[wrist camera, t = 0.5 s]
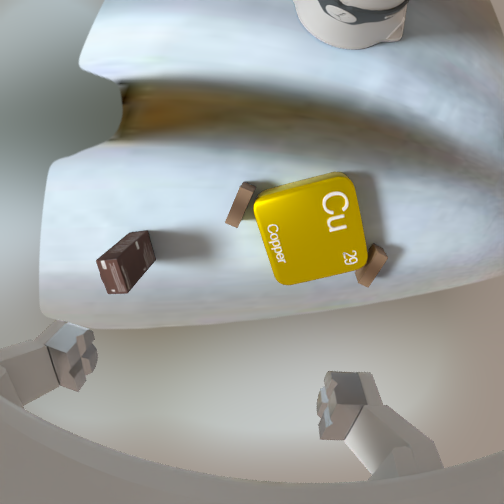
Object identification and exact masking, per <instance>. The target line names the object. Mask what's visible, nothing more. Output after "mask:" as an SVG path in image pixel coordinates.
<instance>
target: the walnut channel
mask: <svg viewBox="0 0 504 504" xmlns="http://www.w3.org/2000/svg"><path fill="white" fill-rule="evenodd" d="M255 188H256V187H255V186H253V185H250V184H248V183H246V182H243V183H242V185H241V186H240V188H239V190H238V193H237V195H236V198H235V200H234V202H233V205H232V207H231V209H230V212H229V214H228V217H227V219H226V221H225V223H227V224H229V225H231V226H234V227H236V228H238V226H239V223H240V221H241V219H242V217H243V215H244V213H245V210H246V208H247V206H248V203H249V201H250V199H251V197H252V195H253V192H254V190H255ZM387 259H388V257H387V255H386V253H385V252H384V250H383V248H381V247H379V246H377V245H375V244H372V246H371V248H370V249H369V251H368V259H367V262H366V264H365V265H364V266H363V267H362V268H360V269H358V270H356V272H355V274H356V277H357V280H358V283H360V284H362V285H364V286H366V287H369V286H370V284H371V283H372V281H373V280H374V278H375V277H376V275H377V274H378V272H379V271H380V269H381V268H382V266H383V265H384V263H385V262H386V260H387Z"/></svg>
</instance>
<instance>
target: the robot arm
mask: <svg viewBox="0 0 504 504" xmlns="http://www.w3.org/2000/svg"><path fill="white" fill-rule="evenodd" d="M408 1H409V0H293V2H294V4H295V7H296V11H297V14H298V17H299V19H300V21H301V22H302V24H303V25H304V27H305V28H306V29H307V30H308V31H309V32H310V33H311V34H312V35H314V36H315V37H316V38H318V39H319V40H321V41H323V42H325V43H327V44H329V45H332V46H335V47H338V48H343V49H362V48H367V47H370V46H372V45H374V44H377V43H379V42H396V41H399V40H400V39H401V37H402V35H403V29H404V23H405V16H406V9H407V3H408ZM94 340H95V339H94V334H93V331H92V330H90V329H88V328H85V327H82V326H79V325H76V324H73V323H70V322H66V321H63V320H60V319H58V320H55V321H54V322H53V323H52V324H51V325H50V326H49V327H47V328H46V330H44V331H43V332H42V333H41V334H40V335H39V336H38V337H37V338H36V339H35V340H34V341H33V340H28V341H25V342H22V343H18V344H15V345H11V346H8V347H5V348H1V349H0V504H504V450H503V451H500V452H497V453H494V454H492V455H489V456H486V457H483V458H480V459H476V460H473V461H470V462H466V463H463V464H459V465H455V466H452V467H448V468H444V467H443V464H442V462H441V459H440V457H439V454H438V451H437V449H436V446H435V444H434V442H433V441H432V440H431V439H430V438H428V437H427V436H426V435H424V434H423V433H422V432H420V431H419V430H418V429H417V428H415V427H414V426H413V425H412V424H410V423H409V422H408V421H407V420H405V419H404V418H403V417H401V416H400V415H399V414H398V413H396V412H395V411H394V410H393V409H391V408H390V407H389V406H387V405H383V403H382V400H381V397H380V395H379V392H378V389H377V386H376V384H375V381H374V378H373V375H372V374H371V373H370V372H336V371H328V372H327V373H326V375H325V378H324V383H325V386H324V387H323V388H321V389H320V392H319V395H318V399H317V415H318V416H319V417H320V418H321V420H320V422H319V425H318V426H319V434H320V439H322V440H345V441H344V442H345V443H346V444H347V445H348V447H349V448H350V449H351V450H352V452H353V453H354V454H355V455H356V456H357V457H358V459H359V460H360V461H361V462H362V463H363V465H364V466H365V467H366V468H367V469H368V471H369V472H370V473H371V474H372V476H371V477H370V478H369V479H368V480H367V481H358V482H343V483H342V482H341V483H287V482H269V481H257V480H248V479H239V478H231V477H225V476H217V475H212V474H206V473H200V472H195V471H191V470H186V469H181V468H177V467H172V466H168V465H164V464H161V463H157V462H153V461H149V460H146V459H142V458H139V457H136V456H133V455H129V454H126V453H123V452H120V451H117V450H114V449H112V448H109V447H106V446H103V445H101V444H98V443H95V442H93V441H90V440H88V439H85V438H83V437H80V436H78V435H76V434H73V433H71V432H69V431H66V430H64V429H62V428H60V427H58V426H56V425H54V424H52V423H50V422H47V421H45V420H43V419H42V418H40V417H38V416H36V415H34V414H32V413H30V412H28V411H27V410H25V409H24V407H23V406H24V405H26V404H27V403H29V402H31V401H33V400H35V399H37V398H39V397H40V396H42V395H44V394H46V393H48V392H50V391H52V390H54V389H55V388H57V387H59V385H61V386H63V387H66V388H69V389H72V390H74V391H77V392H78V391H79V390H80V389H81V387H82V386H83V384H84V383H85V382H86V375H88V374H90V373H92V372H93V370H94V369H95V367H96V364H97V359H98V354H97V349H96V348H95V346H94V345H93V344H92V342H93V341H94Z"/></svg>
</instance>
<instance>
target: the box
mask: <svg viewBox="0 0 504 504" xmlns="http://www.w3.org/2000/svg"><path fill="white" fill-rule="evenodd" d="M155 260H156V259H155V255H154V252H153V249H152V245H151V241H150V237H149V233H148V231H140V232H132V233H128V234H127V235H126V236H125V237H124V238H122V239H121V240H120V241H119V242H118V243H116V244H115V245H114V246H113V247H112V248H110V249H109V250H108V251H107V252H106V253H104V254H103V255H102V256H101V257H100V258H98V259H97V260H96V263H97V266H98V268H99V271H100V276H101V279H102V281H103V283H104V285H105V288H106V290H107V293H108V294H125V293H128V292H129V291H130V290H131V289H132V287H133V286H134V285H135V284H136V283H137V281H138V280H139V279H140V278H141V277H142V276H143V274H144V273H145V272H146V271H147V270H148V268H149V267H150V266H151V265H152V264H153V263H154V261H155Z"/></svg>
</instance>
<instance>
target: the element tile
mask: <svg viewBox="0 0 504 504" xmlns="http://www.w3.org/2000/svg"><path fill="white" fill-rule="evenodd" d="M253 211H254V216H255V219H256V222H257V225H258V228H259V231H260V234H261V237H262V240H263V243H264V246H265V249H266V252H267V255H268V258H269V261H270V264H271V267H272V270H273V273H274V276H275V278H276V280H277V281H278V282H279V283H281V284H283V285H293V284H298V283H302V282H307V281H311V280H316V279H320V278H324V277H329V276H333V275H337V274H342V273H346V272H350V271H354V270H358V269H360V268H362V267H363V266H364V265H365V264H366V262H367V259H368V253H367V247H366V241H365V235H364V230H363V225H362V219H361V214H360V209H359V205H358V200H357V195H356V191H355V187H354V184H353V183H352V181H351V180H350V179H349V178H348V177H347V175H345V174H344V173H341V172H332V173H328V174H324V175H320V176H316V177H312V178H308V179H304V180H300V181H296V182H292V183H289V184H285V185H281V186H278V187H274V188H270V189H267V190H264V191H262V192H261V193H260V194H258V196H257V198H256V200H255V202H254V206H253Z"/></svg>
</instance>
